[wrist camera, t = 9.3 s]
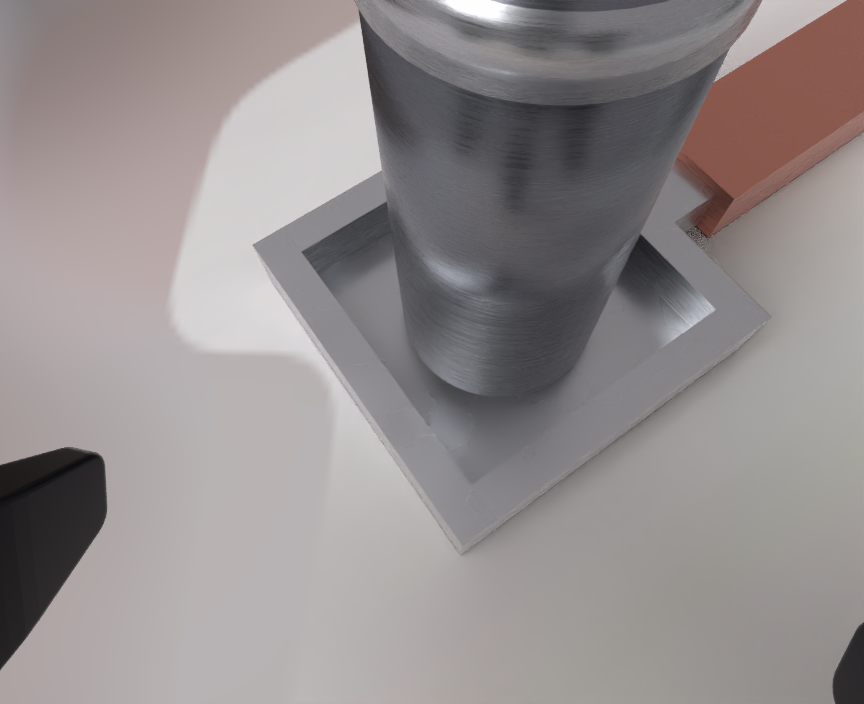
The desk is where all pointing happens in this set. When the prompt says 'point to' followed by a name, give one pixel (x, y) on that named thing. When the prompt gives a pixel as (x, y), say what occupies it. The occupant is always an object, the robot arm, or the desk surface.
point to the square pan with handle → (625, 309)
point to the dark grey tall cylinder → (528, 163)
